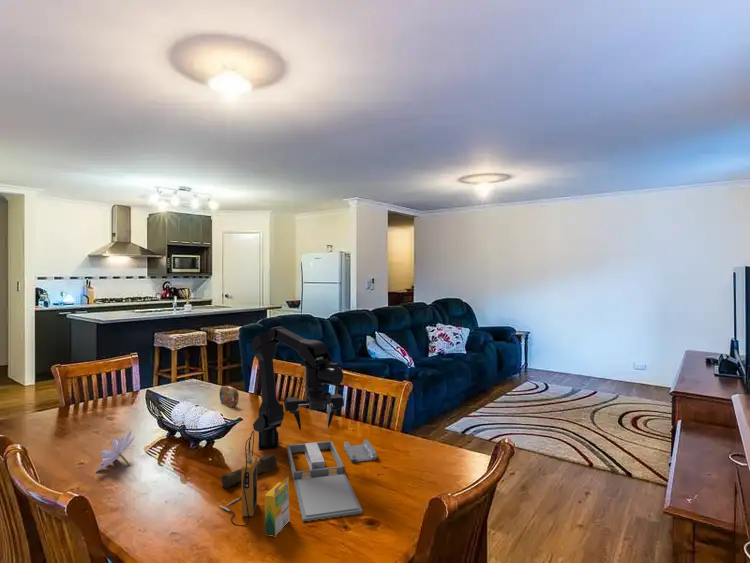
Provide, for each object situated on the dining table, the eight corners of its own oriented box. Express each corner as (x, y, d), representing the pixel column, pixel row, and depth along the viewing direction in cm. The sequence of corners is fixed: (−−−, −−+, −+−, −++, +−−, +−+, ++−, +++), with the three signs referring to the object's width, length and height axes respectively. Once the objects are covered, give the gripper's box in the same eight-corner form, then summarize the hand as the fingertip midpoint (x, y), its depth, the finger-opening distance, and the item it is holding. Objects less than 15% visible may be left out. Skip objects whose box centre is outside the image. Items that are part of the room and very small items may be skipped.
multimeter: (223, 498, 127) (222, 426, 126) (259, 496, 128) (259, 425, 127) (208, 527, 112) (207, 447, 112) (249, 526, 113) (249, 445, 113)
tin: (219, 402, 218) (218, 384, 217) (225, 400, 220) (225, 383, 219) (233, 409, 206) (233, 390, 206) (239, 407, 209) (239, 389, 208)
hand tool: (228, 490, 131) (228, 474, 131) (220, 486, 134) (220, 470, 134) (281, 469, 146) (282, 455, 146) (274, 465, 148) (274, 451, 148)
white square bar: (311, 475, 141) (311, 462, 141) (304, 455, 157) (304, 443, 157) (324, 473, 143) (324, 461, 142) (316, 453, 158) (316, 442, 158)
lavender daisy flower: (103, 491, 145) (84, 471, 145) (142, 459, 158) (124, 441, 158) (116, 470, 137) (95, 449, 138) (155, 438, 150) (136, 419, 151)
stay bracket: (351, 462, 150) (351, 455, 150) (344, 448, 161) (344, 442, 161) (376, 459, 152) (376, 452, 152) (367, 446, 164) (367, 439, 164)
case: (302, 522, 115) (302, 512, 115) (287, 452, 158) (287, 445, 158) (362, 513, 119) (362, 503, 119) (331, 447, 162) (331, 440, 162)
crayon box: (279, 519, 116) (278, 474, 116) (289, 521, 115) (289, 475, 115) (264, 535, 109) (263, 487, 109) (275, 537, 108) (275, 489, 108)
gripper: (287, 389, 139) (287, 440, 139) (347, 385, 144) (347, 434, 144) (284, 380, 149) (284, 428, 150) (340, 376, 154) (340, 422, 155)
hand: (314, 428), depth 149 cm, fingers open, 9 cm apart
